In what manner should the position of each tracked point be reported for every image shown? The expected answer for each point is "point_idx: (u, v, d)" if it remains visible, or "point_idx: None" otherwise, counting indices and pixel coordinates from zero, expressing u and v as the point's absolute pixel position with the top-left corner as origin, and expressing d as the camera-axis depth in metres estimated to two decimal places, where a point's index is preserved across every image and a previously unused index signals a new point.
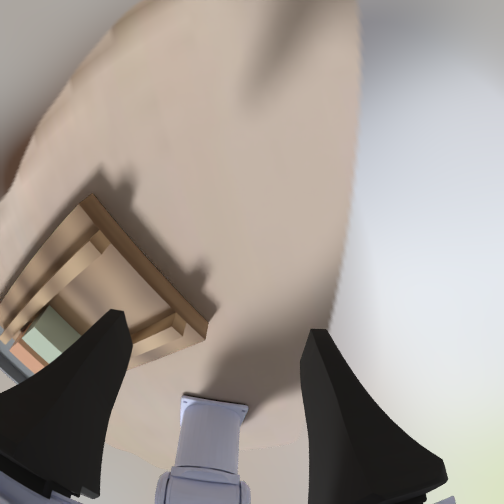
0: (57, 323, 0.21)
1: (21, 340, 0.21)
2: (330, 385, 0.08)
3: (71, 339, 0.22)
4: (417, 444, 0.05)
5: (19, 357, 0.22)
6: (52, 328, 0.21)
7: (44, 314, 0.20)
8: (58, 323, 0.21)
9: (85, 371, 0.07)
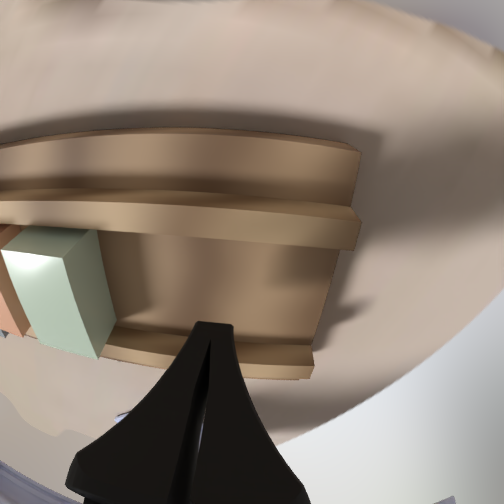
0: (93, 264, 0.12)
1: None
2: (209, 380, 0.08)
3: (99, 300, 0.13)
4: (279, 461, 0.05)
5: None
6: (84, 270, 0.11)
7: (83, 238, 0.11)
8: (94, 264, 0.12)
9: (195, 393, 0.07)
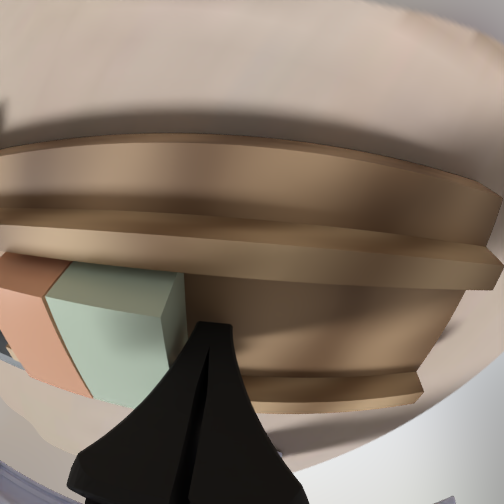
0: (180, 310, 0.10)
1: None
2: (208, 380, 0.08)
3: None
4: (278, 461, 0.05)
5: None
6: (174, 322, 0.09)
7: (175, 281, 0.09)
8: (180, 310, 0.10)
9: (197, 393, 0.07)
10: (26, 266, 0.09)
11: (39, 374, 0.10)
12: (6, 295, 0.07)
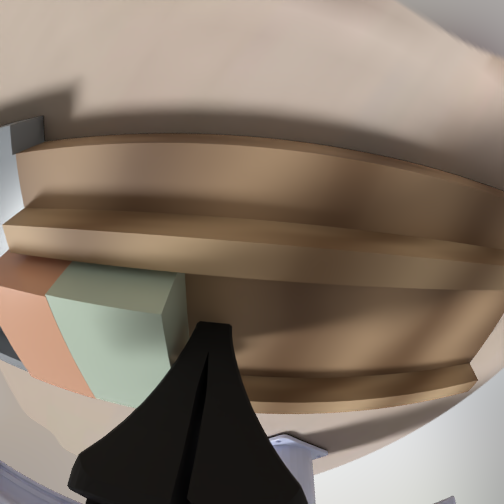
0: (181, 308, 0.10)
1: None
2: (207, 380, 0.08)
3: (183, 348, 0.11)
4: (277, 462, 0.05)
5: (1, 311, 0.08)
6: (175, 320, 0.09)
7: (176, 279, 0.09)
8: (182, 307, 0.10)
9: (198, 393, 0.07)
10: (29, 265, 0.08)
11: (41, 374, 0.10)
12: (9, 294, 0.07)
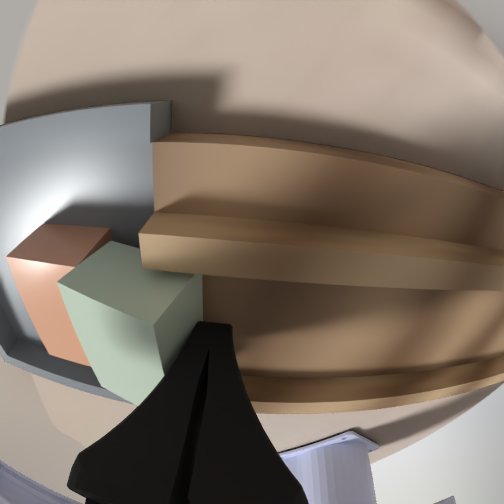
0: (192, 319, 0.10)
1: None
2: (208, 380, 0.08)
3: None
4: (277, 462, 0.05)
5: (26, 286, 0.09)
6: (180, 330, 0.09)
7: (185, 289, 0.09)
8: (193, 319, 0.10)
9: (197, 393, 0.07)
10: (57, 242, 0.10)
11: (60, 350, 0.11)
12: (38, 268, 0.09)
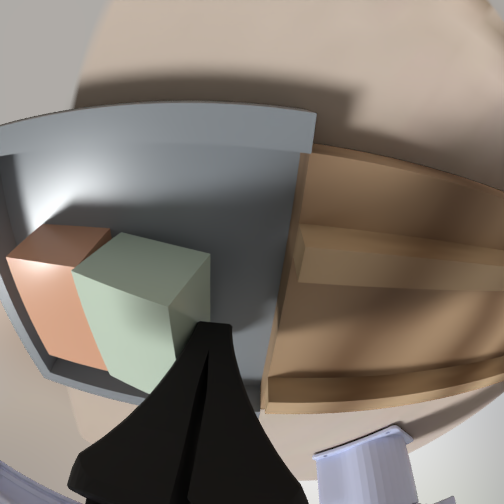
0: (200, 304, 0.10)
1: None
2: (207, 380, 0.08)
3: None
4: (277, 461, 0.05)
5: (26, 286, 0.09)
6: (190, 315, 0.10)
7: (195, 275, 0.09)
8: (202, 304, 0.10)
9: (197, 393, 0.07)
10: (57, 243, 0.10)
11: (60, 350, 0.11)
12: (37, 268, 0.09)
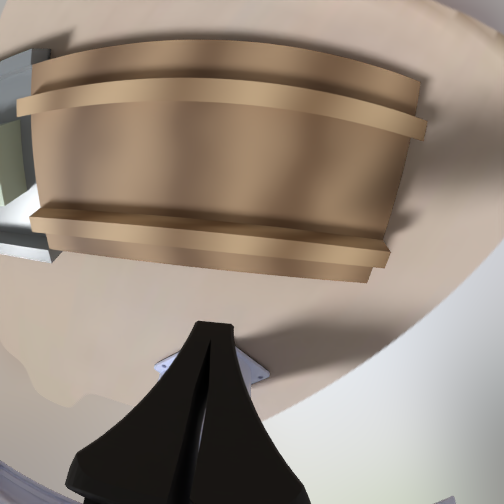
0: (14, 142, 0.15)
1: None
2: (209, 380, 0.08)
3: (14, 167, 0.16)
4: (279, 462, 0.05)
5: None
6: (7, 142, 0.14)
7: (10, 124, 0.14)
8: (15, 143, 0.15)
9: (195, 393, 0.07)
10: None
11: None
12: None
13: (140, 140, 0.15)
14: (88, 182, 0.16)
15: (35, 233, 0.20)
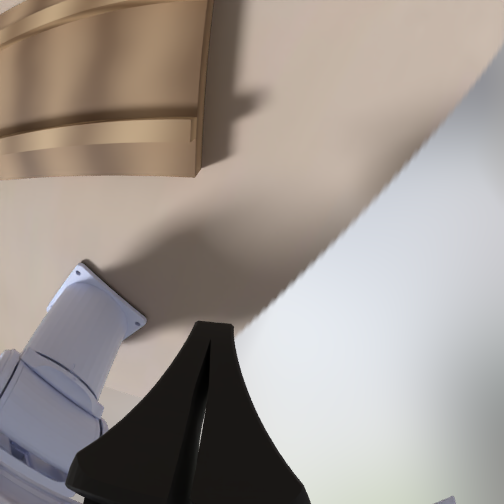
0: None
1: None
2: (209, 380, 0.08)
3: None
4: (279, 461, 0.05)
5: None
6: None
7: None
8: None
9: (195, 393, 0.07)
10: None
11: None
12: None
13: (2, 77, 0.12)
14: None
15: None
